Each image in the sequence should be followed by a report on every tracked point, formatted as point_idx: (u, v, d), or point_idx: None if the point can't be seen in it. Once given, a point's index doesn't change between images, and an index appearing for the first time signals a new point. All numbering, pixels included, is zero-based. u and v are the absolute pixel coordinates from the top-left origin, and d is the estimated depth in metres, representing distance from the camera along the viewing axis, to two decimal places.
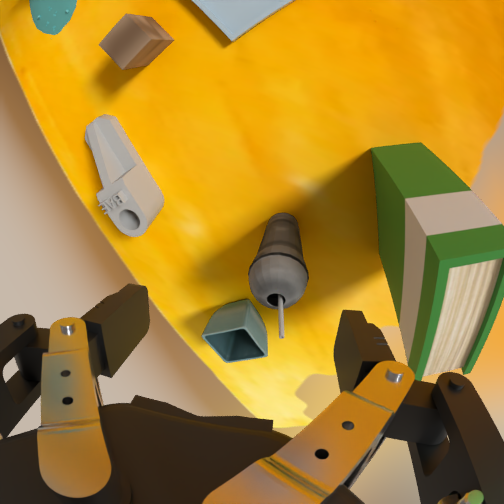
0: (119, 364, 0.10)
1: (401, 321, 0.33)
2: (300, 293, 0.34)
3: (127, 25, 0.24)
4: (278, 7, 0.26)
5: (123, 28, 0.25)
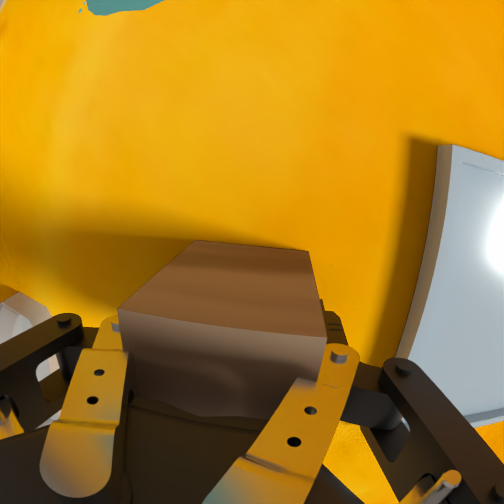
0: None
1: None
2: None
3: (282, 379, 0.07)
4: None
5: (258, 374, 0.07)
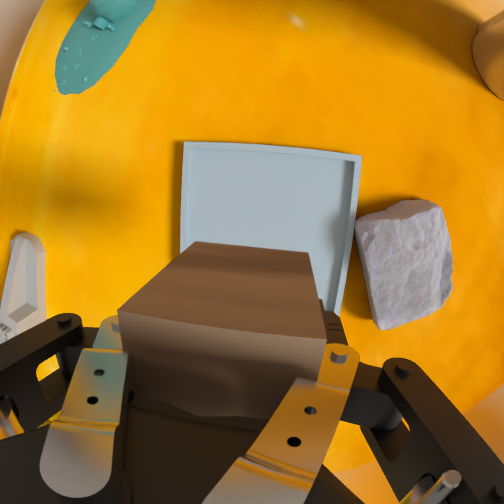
0: None
1: None
2: None
3: (281, 381, 0.07)
4: None
5: (258, 375, 0.07)
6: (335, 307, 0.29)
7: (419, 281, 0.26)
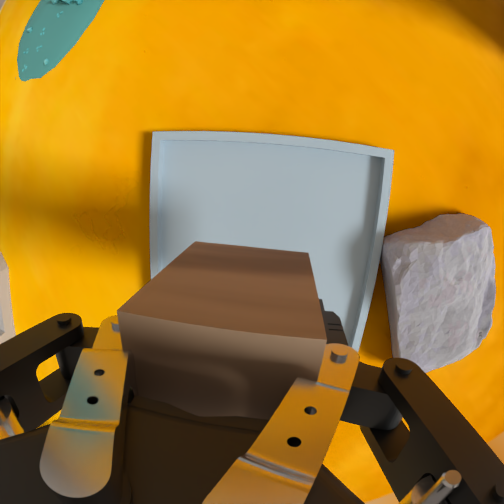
0: None
1: None
2: None
3: (281, 381, 0.07)
4: None
5: (258, 375, 0.07)
6: None
7: (457, 320, 0.18)
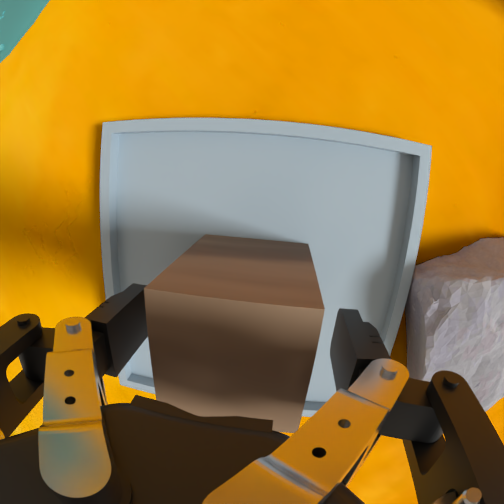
0: (124, 363, 0.10)
1: None
2: None
3: (286, 348, 0.08)
4: None
5: (266, 343, 0.08)
6: None
7: (490, 370, 0.13)
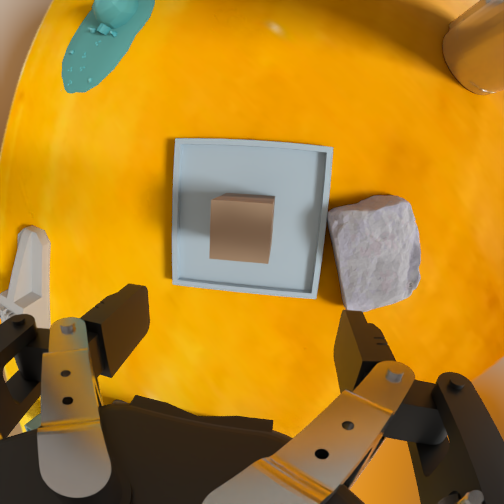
0: (119, 364, 0.10)
1: None
2: None
3: (261, 219, 0.25)
4: (234, 290, 0.33)
5: (253, 217, 0.25)
6: (313, 286, 0.32)
7: (386, 269, 0.29)
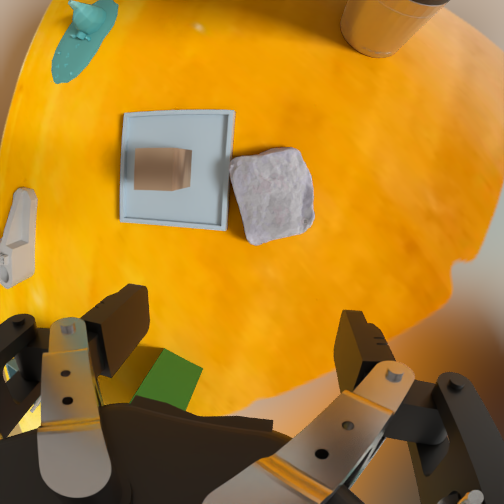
0: (119, 364, 0.10)
1: None
2: None
3: (166, 159, 0.33)
4: (162, 224, 0.42)
5: (161, 158, 0.33)
6: (222, 219, 0.41)
7: (278, 205, 0.37)
